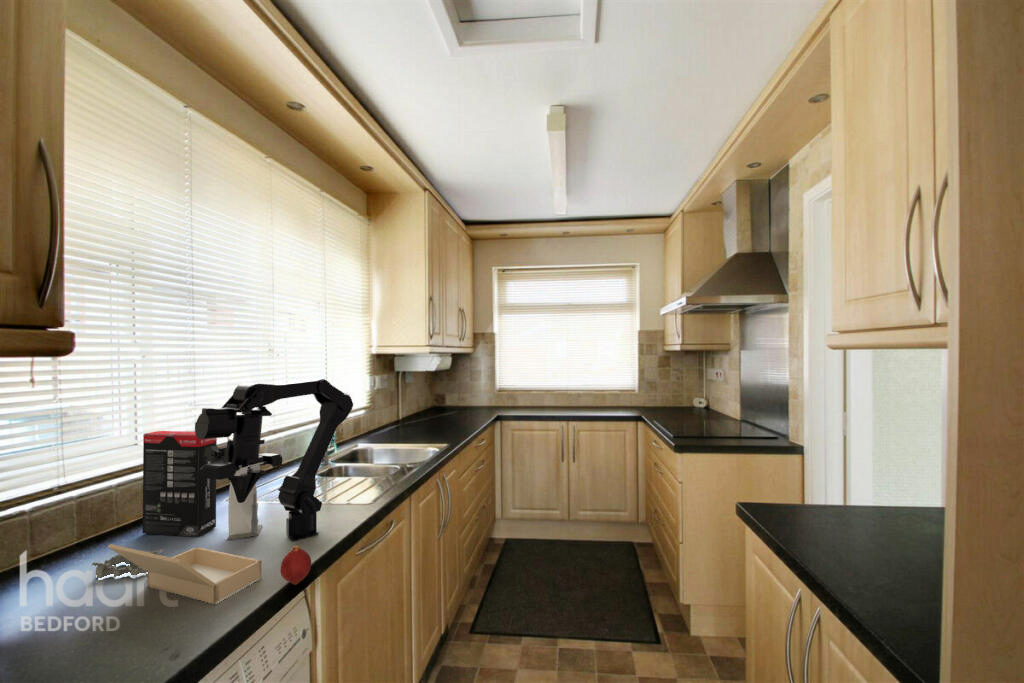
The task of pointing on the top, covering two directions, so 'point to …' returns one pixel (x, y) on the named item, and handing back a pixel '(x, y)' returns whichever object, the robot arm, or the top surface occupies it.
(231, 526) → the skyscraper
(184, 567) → the lid
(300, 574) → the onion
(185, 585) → the mailer box
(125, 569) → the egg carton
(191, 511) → the graphics card box
